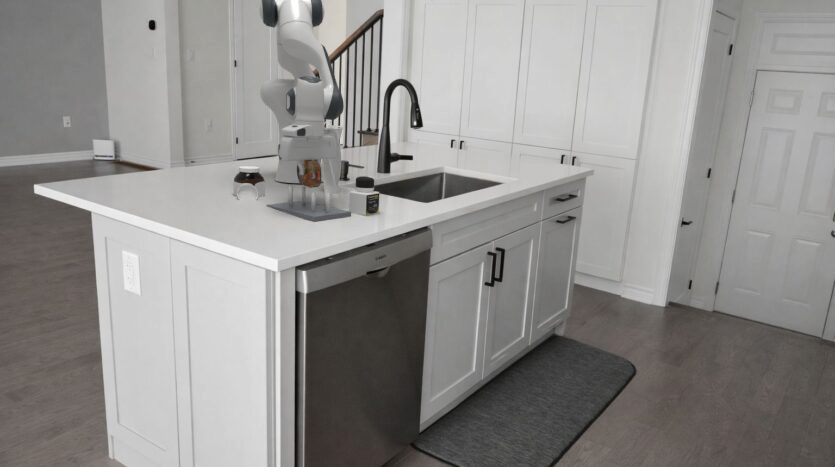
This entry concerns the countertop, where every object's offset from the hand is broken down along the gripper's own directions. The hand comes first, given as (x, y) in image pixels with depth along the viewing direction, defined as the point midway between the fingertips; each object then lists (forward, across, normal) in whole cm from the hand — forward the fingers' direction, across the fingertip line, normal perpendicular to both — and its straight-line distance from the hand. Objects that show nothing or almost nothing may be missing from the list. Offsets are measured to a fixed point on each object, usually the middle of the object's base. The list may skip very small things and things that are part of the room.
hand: (308, 174), depth 199 cm
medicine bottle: (+13, -15, +10) cm, 22 cm away
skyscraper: (+13, -26, -19) cm, 35 cm away
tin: (+4, 0, 0) cm, 4 cm away
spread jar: (+13, +4, -26) cm, 29 cm away
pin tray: (+12, 0, 0) cm, 13 cm away
